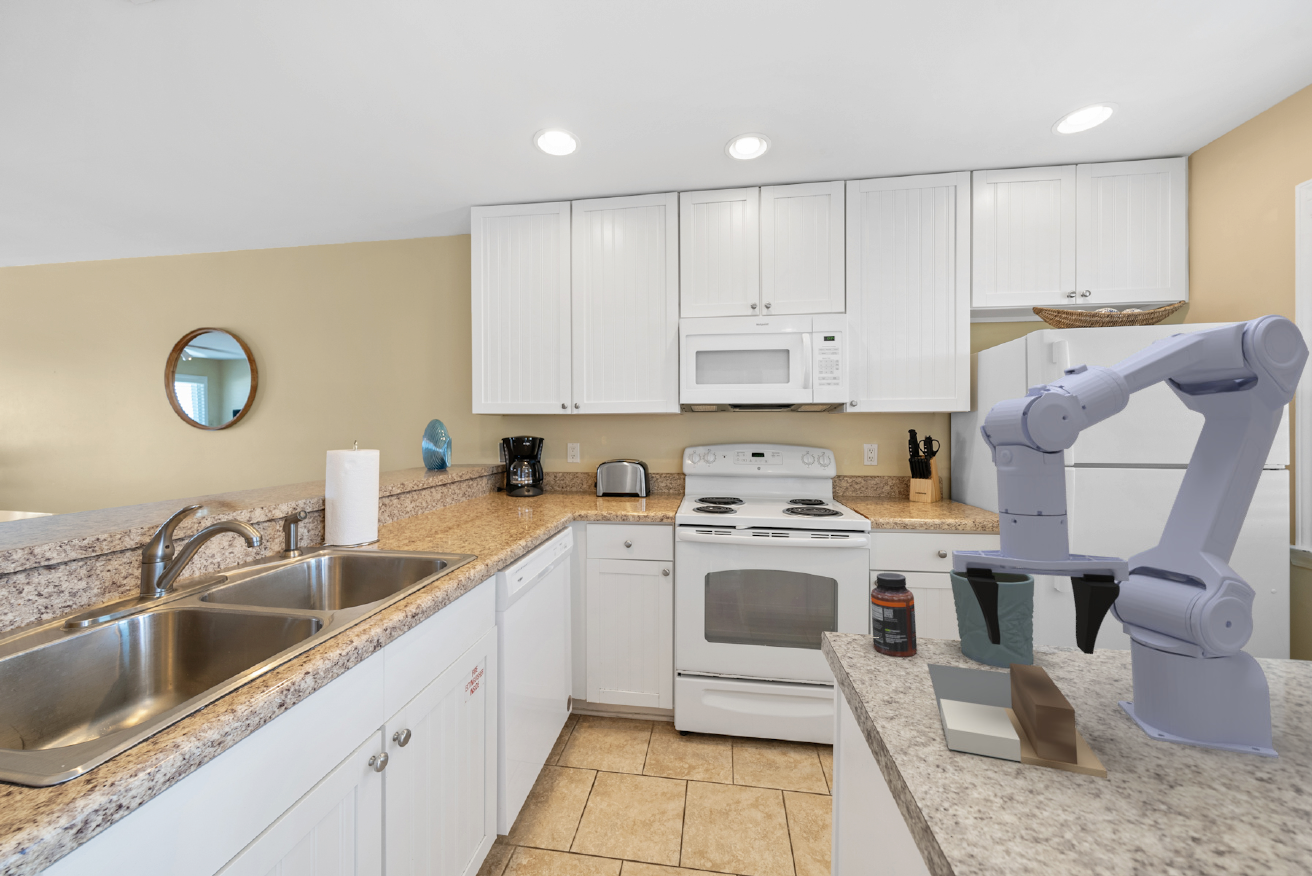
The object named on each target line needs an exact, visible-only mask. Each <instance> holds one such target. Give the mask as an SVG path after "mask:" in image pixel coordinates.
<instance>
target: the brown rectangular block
mask: <svg viewBox="0 0 1312 876" xmlns="http://www.w3.org/2000/svg"><path fill="white" fill-rule="evenodd" d="M1009 673H1010V682H1011V703H1012V709H1013V711H1014V713H1015V715H1016V717H1017V719H1018V721H1019V723H1020V725H1021V726H1022V728H1023V730H1024V732H1025V734H1026V736H1027V738H1028V740H1029V742H1030V744H1031V745H1032V747H1033V749H1034V751H1035V753H1036V755H1037V757H1038V758H1042V759H1048V760H1053V761H1059V762H1065V763H1071V764H1077V746H1076V729H1077V728H1076V712H1075V708H1074V707H1073V706H1072V704H1071V703H1070V702H1069V700H1068V699H1067V698H1066V696H1065V695H1064V694H1063V692H1062V691H1061V689H1059V687H1058V686H1057V685H1056V683H1055V682H1054V680H1053V679H1052V678H1051V677H1050V675H1049V674H1048V673H1047V672H1046V670H1045V669H1044V667H1043V666H1039V665H1023V664H1014V663H1010V668H1009Z"/></svg>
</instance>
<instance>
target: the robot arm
mask: <svg viewBox="0 0 1312 876" xmlns="http://www.w3.org/2000/svg"><path fill="white" fill-rule="evenodd" d="M1309 355H1310V351H1309V348H1308V346H1307V344H1306V342H1305V339H1304V337H1303V334H1302V332H1301V330H1300V328H1299V327H1298V326H1297V325H1296V324H1295V323H1294V322H1292V320H1290V319H1289V318H1287V317H1285V316H1283V315H1280V314H1275V313H1274V314H1266V315H1265V314H1264V315H1262V316H1260V317H1257V318H1254V319H1250V320H1245V321H1240V322H1235V323H1231V324H1225V325H1220V326H1215V327H1209V328H1206V329H1205V328H1204V329H1200V330H1196V331H1190V332H1187V333H1181V332H1179V333H1173V334H1171V335H1169V336H1167V337H1165V338H1160V339H1157V340H1153V341H1152V343H1151V344H1150V345H1148V346H1145V347H1144V348H1143V349H1140V350H1139V351H1137V352H1135V353H1133V354H1131V355H1130V356H1128V357H1126V358H1124V359H1122V360H1120V361H1118V362H1117V363H1115V364H1113V365H1111V366H1109V367H1106V366H1102V365H1094V364H1093V365H1087V364H1086V363H1082V364H1081V363H1080V364H1075V365H1072V366H1069V367H1068V368H1066V369H1064V370H1063V373H1064V376H1062V377H1060V378H1058V379H1055V380H1053V381H1051V382H1050V383H1047V384H1045V383H1039V384H1035V385H1032V386H1030V387H1029V388H1028V389H1027V390H1028V393H1026V395H1024V396H1023V397H1019V398H1011V399H1003V400H1000V401H998V402H996V403H995V404H994V405H993V406H992V407H991V409H989V411H988V413H987V414H986V416H985V419H984V423H983V425H982V424H981V425H980V427H979V429H980V433H981V437H982V439H983V441H984V443H985V444H986V445H987V446H988V448H989V449H990V451H991V462H992V463H994V466H995V467H996V482H997V483H996V485H997V506H998V507H997V508H998V523H999V524H998V526H999V545H1000V549H999V550H998V549H995V550H993V549H992V550H991V549H989V550H986V549H985V550H983V549H981V550H957V549H956V550H954V549H953V550H951V552H952V553H951V555H952V556H951V557H952V560H951V561H952V569H954V570H955V571H956V572H964V574H965V576H966V578H967V580H968V582H969V583H970V585H971V587H972V589H973V591H974V593H975V596H976V598H977V600H978V602H979V605H980V608H981V610H982V613H983V616H984V619H985V623H986V627H987V631H988V638H989V639H990V641H991V643H992V644H997V645H1000V629H999V621H998V587H999V584H998V583H997V582H996V581H995V575H993V574H992V572H999V573H1017V574H1029V575H1036V576H1037V575H1038V576H1039V575H1040V576H1055V577H1056V576H1057V577H1070V583H1071V589H1072V593H1073V600H1074V608H1075V609H1074V610H1075V640H1076V641H1075V642H1076V646H1077V648H1079V649H1080V650H1081V652H1083V654H1088V655H1093V654H1094V650H1095V645H1096V641H1097V638H1098V634H1099V631H1100V629H1101V625H1102V624H1103V621H1104V619H1105V617H1106V615H1107V613H1108V612H1109V611H1110V614H1111V615H1112V617H1113V618H1114V619H1115V620H1116V621H1118V622H1119V623H1121V624H1122V633H1123V634H1126V635H1128V636H1130V638H1129V639H1130V640H1129V642H1130V654H1131V655H1130V658H1131V659H1130V660H1131V677H1132V678H1131V679H1132V696H1133V698H1132V699H1133V701H1129V700H1127V701H1126V700H1118V701H1117V705H1118V706H1119V708H1121V710H1122V711H1124V713H1125V714H1126V715H1127V716H1128V717H1129V718H1130V719H1131V721H1133V722H1134V724H1136V725H1137V727H1138V728H1139V729H1141V731H1142V732H1143V733H1144V734H1145V735H1146V736H1147V737H1148V738H1149V739H1151V740H1154V741H1158V742H1165V743H1166V742H1167V743H1172V744H1180V745H1185V746H1193V747H1199V748H1206V749H1213V750H1219V751H1220V750H1221V751H1225V752H1226V751H1227V752H1233V753H1240V754H1247V755H1252V756H1253V755H1254V756H1258V757H1259V756H1260V757H1265V758H1266V757H1268V758H1272V759H1278V758H1279V755H1280V754H1279V752H1277V751H1276V750H1275V749H1274V748H1273V747H1274V746H1273V731H1272V730H1273V729H1272V715H1271V699H1270V698H1271V697H1270V696H1271V695H1270V688H1269V684H1268V680H1267V677H1266V675H1265V672H1264V670H1263V668H1262V666H1261V665H1260V663H1259V662H1258V660H1257V659H1256V657H1254V656H1253V655H1251V654H1250V653H1249V652H1248V651H1246V650H1245V651H1244V650H1242V648H1244V647H1245V646H1246V645H1247V644H1248V642H1249V641H1250V639H1251V637H1252V634H1253V630H1254V621H1253V616H1252V615H1253V613H1252V612H1253V605H1254V600H1255V598H1256V595H1257V593H1256V591H1255V590H1254V588H1253V587H1252V586H1251V585H1250V583H1248V582H1247V581H1246V580H1245V579H1244V578H1243V577H1242V576H1241V575H1240V574H1238V572H1236V571H1235V570H1234V569H1233V567H1231V566H1230V565H1229V563H1230V560H1231V557H1232V555H1233V552H1234V549H1235V546H1236V543H1238V538H1239V536H1240V532H1241V531H1242V528H1243V525H1244V523H1245V519H1246V517H1247V514H1248V511H1249V508H1250V506H1251V503H1252V500H1253V498H1254V495H1255V493H1256V489H1257V487H1258V484H1259V481H1260V479H1261V476H1262V474H1263V470H1264V467H1265V465H1266V463H1267V460H1268V457H1269V454H1270V451H1271V449H1272V446H1273V443H1274V440H1275V437H1276V435H1277V432H1278V430H1279V428H1280V427H1279V426H1280V424H1281V421H1282V418H1283V413H1284V409H1285V406H1286V405H1287V404H1289V403H1291V402H1292V401H1293V399H1294V397H1295V394H1296V390H1297V388H1298V386H1299V383H1300V380H1301V377H1302V374H1303V372H1304V369H1305V366H1306V364H1307V361H1308V358H1309ZM1163 381H1164V383H1165V384H1166V385H1167V386H1168V388H1169V389H1170V390H1171V391H1172V393H1174V394H1175V395H1176V397H1178V399H1179V400H1181V402H1182V403H1183V405H1184V406H1185V407H1186V408H1187V409H1188V410H1190V411H1192V412H1196V413H1199V414H1202V415H1203V417H1204V423H1203V425H1202V428H1201V431H1200V434H1199V436H1198V439H1197V441H1196V444H1195V446H1194V449H1193V452H1192V454H1191V457H1190V460H1189V463H1188V465H1187V468H1186V471H1185V473H1184V476H1183V478H1182V481H1181V483H1180V486H1179V489H1178V491H1177V493H1176V497H1175V499H1174V502H1173V504H1172V507H1171V509H1170V512H1169V515H1168V518H1167V521H1166V523H1165V525H1164V528H1163V531H1162V533H1161V536H1160V539H1159V541H1158V544H1157V545H1155V546H1153V547H1151V548H1148V549H1146V550H1144V551H1141V552H1138V553H1137V554H1134V555H1131V556H1130V557H1128V559H1127V560H1125V559H1124V558H1121V557H1119V556H1101V555H1090V554H1081V553H1080V554H1078V553H1070V544H1069V543H1070V541H1069V540H1070V539H1069V523H1068V522H1069V521H1068V504H1067V503H1068V502H1067V500H1068V499H1067V486H1066V485H1067V484H1066V483H1067V482H1066V480H1067V479H1066V466H1065V465H1066V464H1065V450H1069V449H1070V448H1071V447H1073V445H1074V444H1075V443H1076V441H1077V439H1078V438H1079V435H1080V432H1082V431H1084V430H1086V429H1088V428H1091V427H1092V426H1094V425H1097V424H1098V423H1101V422H1103V421H1105V420H1107V419H1109V418H1111V417H1112V416H1115V415H1117V414H1120V413H1121V412H1122V411H1124V409H1125V408H1126V407H1127V405H1128V404H1129V402H1130V401H1129V400H1130V395H1132V394H1134V393H1137V392H1139V391H1141V390H1144V389H1147V388H1149V387H1151V386H1154V385H1156V384H1159V383H1161V382H1163Z"/></svg>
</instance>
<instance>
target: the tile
mask: <svg viewBox="0 0 1312 876" xmlns="http://www.w3.org/2000/svg"><path fill="white" fill-rule="evenodd" d="M940 708H941V717H940V720H941V719H942V721H941V724H942V723H943V725H942V728H943V727H944V729H943V732H944V731H945V733H944V736H945V735H946V737H945V740H946V739H947V741H946V744H947V743H948V745H947V746H948V747H947V748H948V749H949V750H952V751H957V752H964V753H969V754H974V755H980V756H985V757H992V758H997V759H1004V760H1009V761H1015V762H1020V761H1021V753H1020V739H1019V737H1018V735H1017V733H1016V731H1015V729H1014V727H1013V725H1012V723H1011V721H1010V719H1009V717H1008V715H1007V713H1006V711H1005V709H1004V708H1002V707H995V706H988V705H981V704H974V703H967V702H960V701H953V700H946V699H940Z"/></svg>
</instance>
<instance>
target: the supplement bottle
mask: <svg viewBox="0 0 1312 876" xmlns="http://www.w3.org/2000/svg"><path fill="white" fill-rule="evenodd" d="M906 579H907V578H906V576H905V575H903V574H900V573H896V572H881V573H877V574H876V584H877V586H876V587H874V588H873V589H872V590H871V593H870V603H871V606H870V607H871V622H872V623H871V625H872V627H871V628H872V642H873V643H872V644H873V648H874V650H875V651H876V652H878V653H880V654H883V655H884V656H885V655H886V656H890V657H895V658H908V657H909V658H910V657H912V656H914V655H916V653H917V652H918V651H917V647H918V646H917V645H918V644H917V630H916V629H917V628H916V613H915V612H916V611H915V610H916V609H915V598H914V594H913V592H912V591H911V590H909V589H908V588H907V587H906V586H907V583H906V582H907V580H906ZM873 637H879V638H873Z"/></svg>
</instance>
